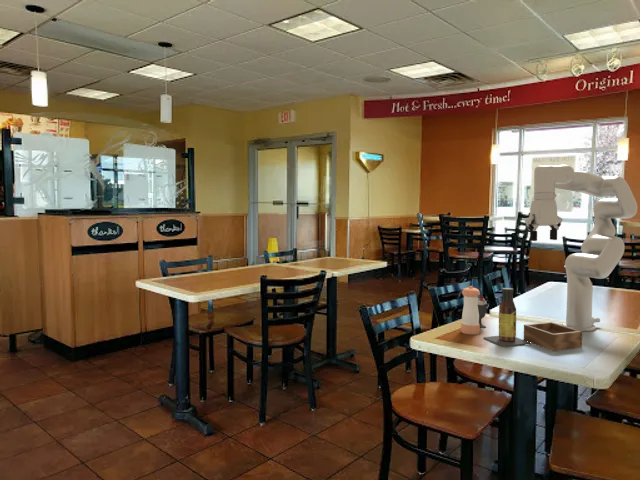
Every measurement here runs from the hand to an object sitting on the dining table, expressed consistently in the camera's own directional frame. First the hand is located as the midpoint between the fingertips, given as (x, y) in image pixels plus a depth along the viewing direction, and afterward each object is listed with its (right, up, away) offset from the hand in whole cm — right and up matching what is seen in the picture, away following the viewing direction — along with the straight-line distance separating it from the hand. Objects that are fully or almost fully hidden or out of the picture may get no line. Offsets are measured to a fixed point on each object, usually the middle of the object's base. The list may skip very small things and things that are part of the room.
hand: (543, 240), depth 191 cm
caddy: (-2, -39, -10) cm, 40 cm away
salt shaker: (-27, -38, +7) cm, 47 cm away
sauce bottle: (-17, -38, -7) cm, 43 cm away
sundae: (-20, -37, +15) cm, 45 cm away
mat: (-17, -39, -7) cm, 43 cm away
